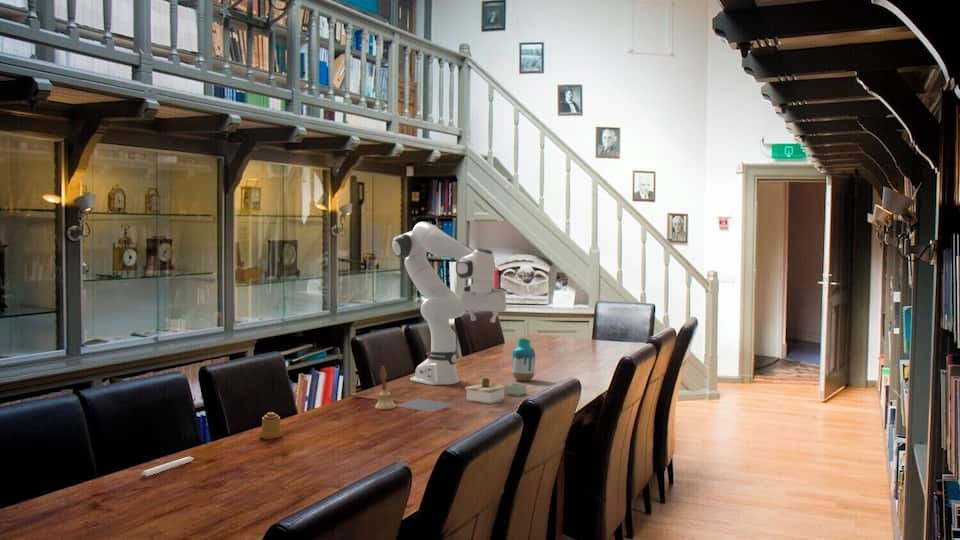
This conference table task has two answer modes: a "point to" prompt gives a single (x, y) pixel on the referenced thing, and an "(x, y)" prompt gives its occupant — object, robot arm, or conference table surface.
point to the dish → (485, 396)
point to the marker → (167, 466)
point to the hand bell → (384, 393)
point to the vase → (523, 360)
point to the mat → (425, 405)
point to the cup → (515, 389)
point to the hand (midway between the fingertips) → (483, 321)
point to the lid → (485, 386)
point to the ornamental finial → (271, 426)
